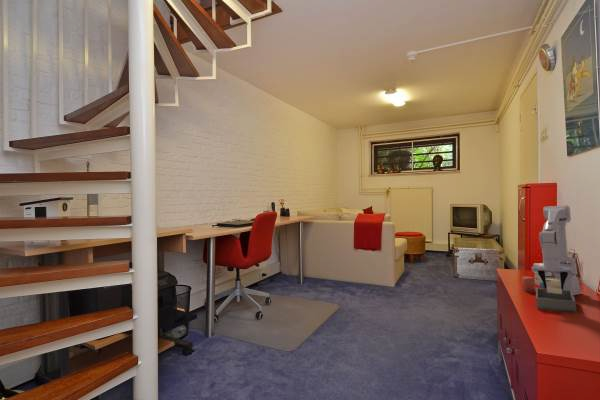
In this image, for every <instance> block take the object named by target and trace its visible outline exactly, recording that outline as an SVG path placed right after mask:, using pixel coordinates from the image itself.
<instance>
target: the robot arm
mask: <svg viewBox="0 0 600 400" xmlns="http://www.w3.org/2000/svg"><path fill="white" fill-rule="evenodd" d="M542 210H543V211H542V212H543V217H544V219H545V220H546V221H545V222H544V223H543V226H542V227H543V228H542V231H539V234H538V240H539V243H540V248H541V252H542V261H543V262H542V263H543V264H544V267H534V266H531V272H532V273H534V272H535V271H538V274H539V276H540V278H541V279H542V281H543V283H544V286H545V288H544V289H547V285H546V280H545V272H551V273H552V275H553V276H554V279H556V280H560V281H561V289H562V290H571V291H572V294H573V296H576V295H581V294H583V292H581V289H580V280H579V278H578V277H577V273H578V270H577V269H578V267H577V264H576V260H575V259H574V258H572V256H571V257H570V256H569V255H568V245H567V232H566V225H567V224H568V223H570V222H571V216H572V215H571V208H570V206H569V205H560V206H559V205H554V206H553V205H551V206H544V207H543V209H542Z"/></svg>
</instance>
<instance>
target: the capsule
mask: <svg viewBox="0 0 600 400" xmlns="http://www.w3.org/2000/svg"><path fill="white" fill-rule="evenodd" d="M521 278H522V289H523V292H525V293H536V286H535V285H536V284H535V277H533V276H522V277H521Z"/></svg>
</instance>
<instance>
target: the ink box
mask: <svg viewBox="0 0 600 400" xmlns="http://www.w3.org/2000/svg"><path fill="white" fill-rule="evenodd" d="M533 267H544V264H543V262H540V263H536V262H535V263H533ZM533 273H534V284H535V285H536V286H538V287H540V288H543V289H546V288H545V286H544V283H543V281H542V279H541V278H540V276H539V274H538V271H535V272H533ZM546 279H553V274H552V273H551V272H545V280H546Z"/></svg>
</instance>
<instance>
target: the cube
mask: <svg viewBox="0 0 600 400" xmlns="http://www.w3.org/2000/svg"><path fill="white" fill-rule="evenodd" d="M546 285H547V293H556V294H562V289H561V281H560V280H556V279H555V278H552V279H546Z"/></svg>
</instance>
